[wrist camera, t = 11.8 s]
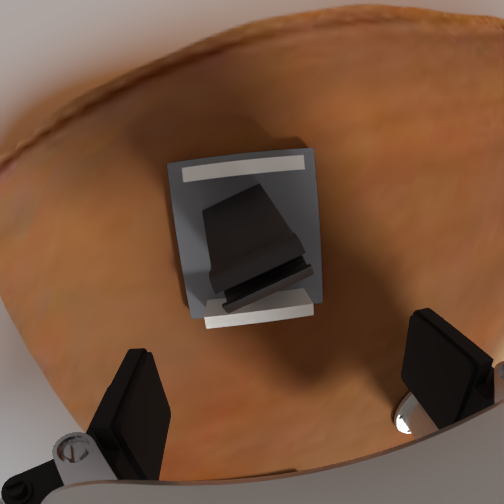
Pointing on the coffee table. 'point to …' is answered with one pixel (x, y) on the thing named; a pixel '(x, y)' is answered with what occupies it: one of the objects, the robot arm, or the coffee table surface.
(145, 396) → the robot arm
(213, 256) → the phone stand
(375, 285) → the coffee table surface
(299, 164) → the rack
